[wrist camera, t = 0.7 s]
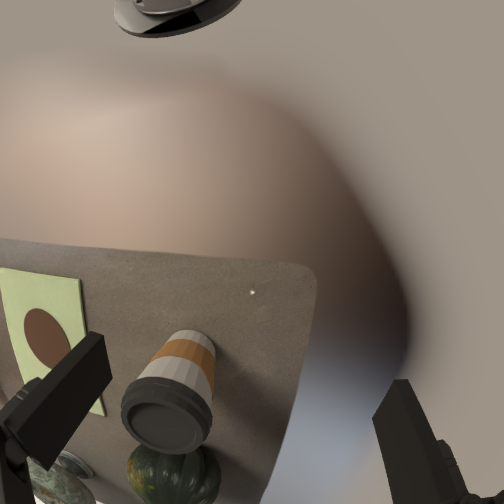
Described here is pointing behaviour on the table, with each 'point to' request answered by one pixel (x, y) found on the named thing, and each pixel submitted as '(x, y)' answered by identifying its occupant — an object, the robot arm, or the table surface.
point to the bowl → (61, 481)
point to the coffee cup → (173, 396)
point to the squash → (174, 476)
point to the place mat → (43, 320)
